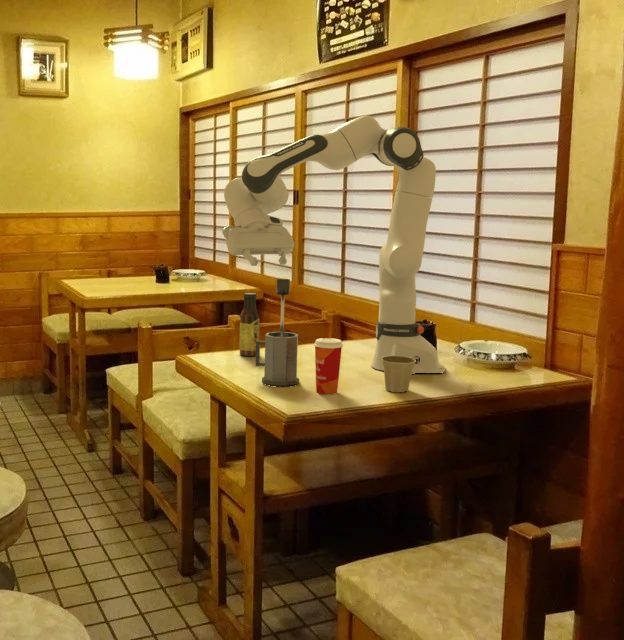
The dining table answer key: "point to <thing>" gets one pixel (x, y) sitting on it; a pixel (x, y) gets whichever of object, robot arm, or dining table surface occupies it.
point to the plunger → (282, 298)
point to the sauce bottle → (249, 326)
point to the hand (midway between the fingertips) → (269, 263)
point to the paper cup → (327, 364)
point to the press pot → (279, 359)
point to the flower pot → (397, 372)
